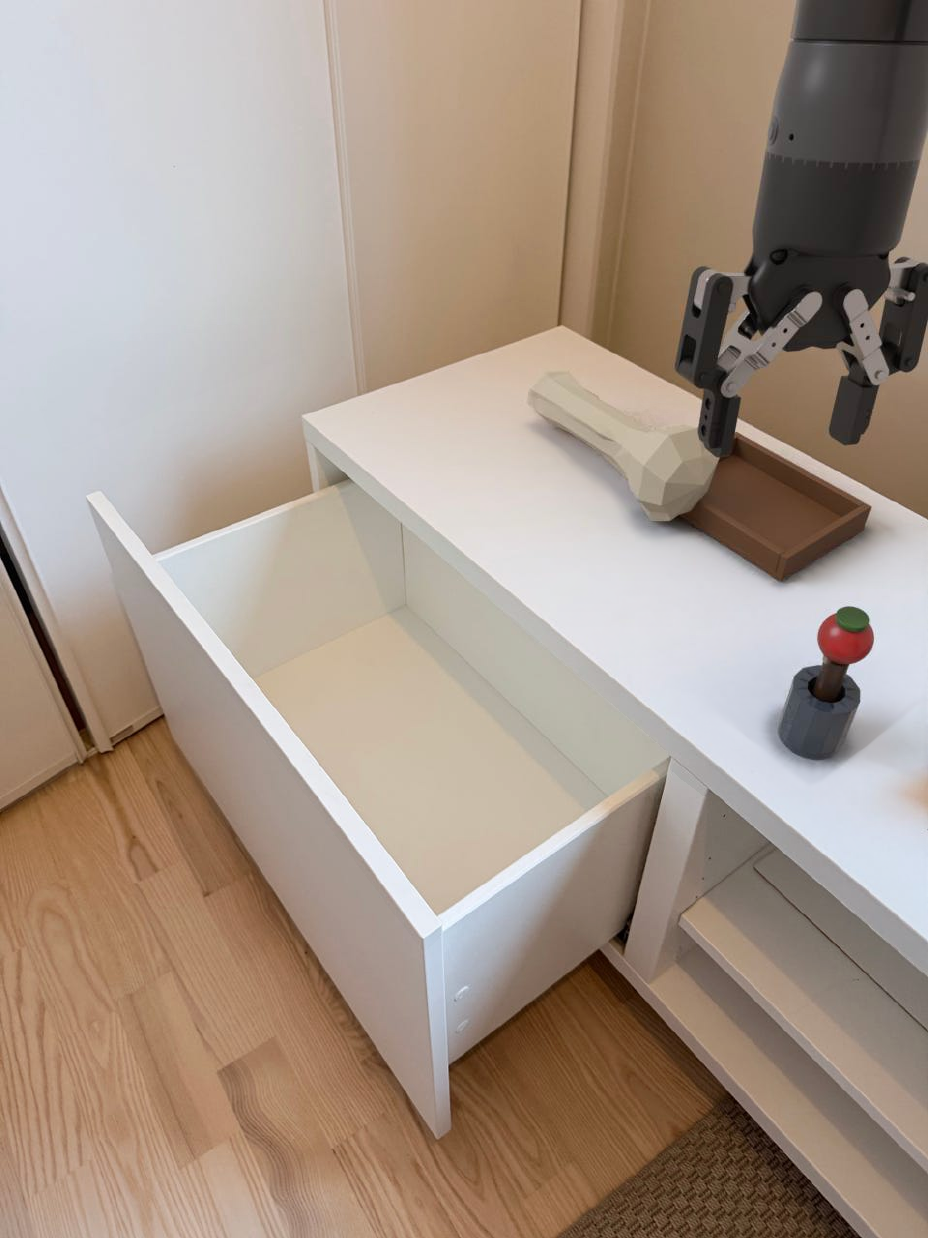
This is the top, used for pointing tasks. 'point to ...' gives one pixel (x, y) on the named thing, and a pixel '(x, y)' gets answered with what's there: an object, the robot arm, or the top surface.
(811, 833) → the top surface
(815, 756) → the holder
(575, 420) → the faceted club
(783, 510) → the tray
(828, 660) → the red ball joystick
